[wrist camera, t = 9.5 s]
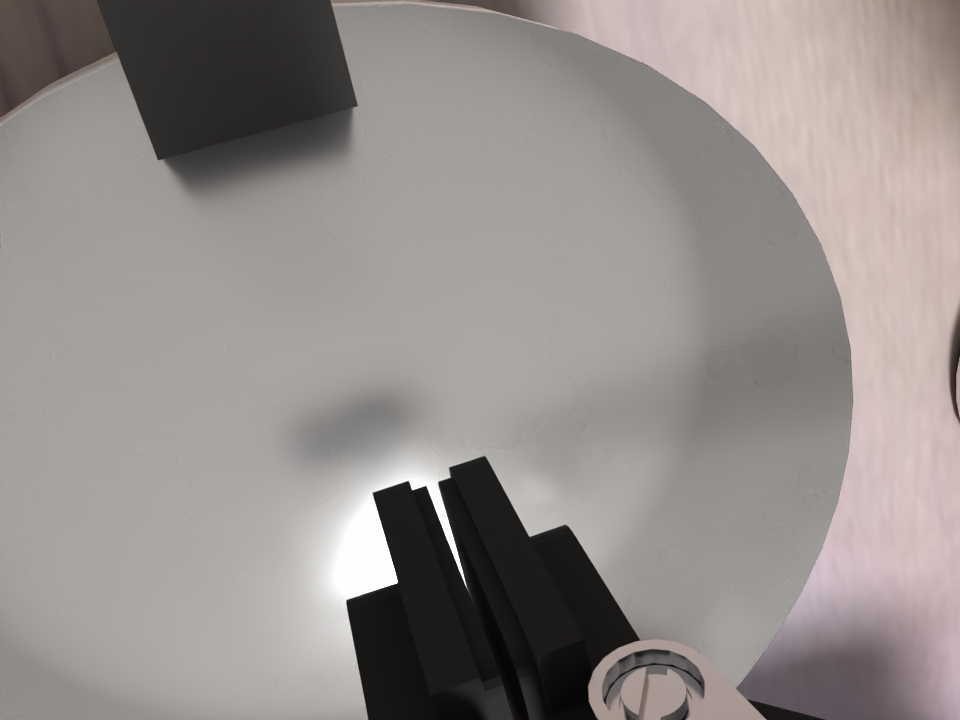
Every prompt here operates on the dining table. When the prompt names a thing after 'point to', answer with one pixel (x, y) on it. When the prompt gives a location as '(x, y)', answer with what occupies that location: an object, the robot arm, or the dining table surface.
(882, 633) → the dining table surface
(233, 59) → the cooker lid
